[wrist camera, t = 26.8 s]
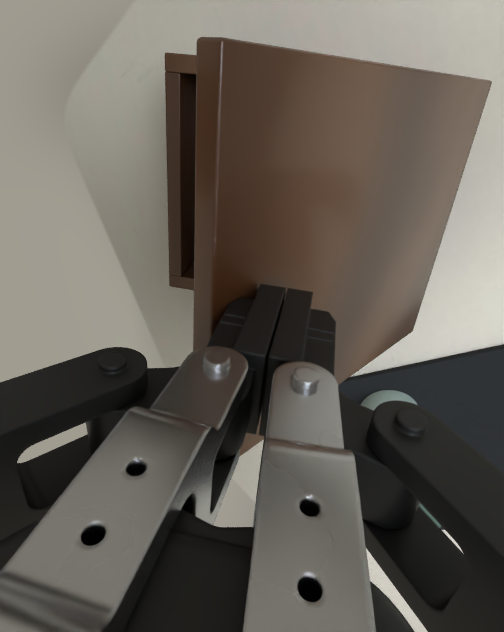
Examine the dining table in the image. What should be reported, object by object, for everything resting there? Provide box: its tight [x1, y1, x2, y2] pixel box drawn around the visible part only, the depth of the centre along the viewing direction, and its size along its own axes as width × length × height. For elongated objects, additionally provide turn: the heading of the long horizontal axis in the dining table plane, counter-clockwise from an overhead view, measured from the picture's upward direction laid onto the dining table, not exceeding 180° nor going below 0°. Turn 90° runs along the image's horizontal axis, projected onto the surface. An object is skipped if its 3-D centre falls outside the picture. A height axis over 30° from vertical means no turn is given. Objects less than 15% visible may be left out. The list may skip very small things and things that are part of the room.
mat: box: [338, 345, 504, 530], centre depth 38 cm, size 20×20×1 cm
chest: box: [165, 53, 197, 290], centre depth 26 cm, size 15×13×7 cm
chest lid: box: [193, 37, 492, 457], centre depth 16 cm, size 15×13×1 cm
